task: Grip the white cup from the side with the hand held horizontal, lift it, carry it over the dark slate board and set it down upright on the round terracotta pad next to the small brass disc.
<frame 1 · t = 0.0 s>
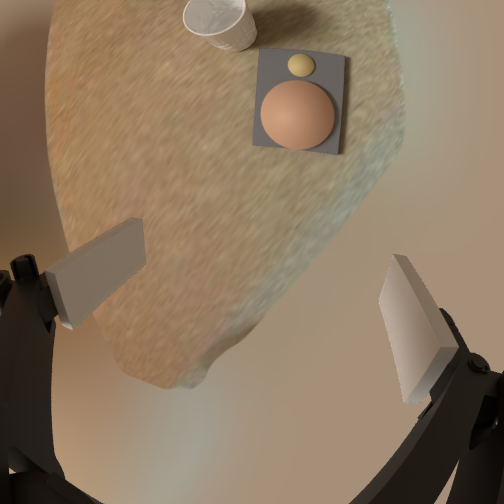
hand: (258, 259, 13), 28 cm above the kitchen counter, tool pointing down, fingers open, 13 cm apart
white cup: (235, 34, 31), on the kitchen counter
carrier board: (299, 98, 34), on the kitchen counter
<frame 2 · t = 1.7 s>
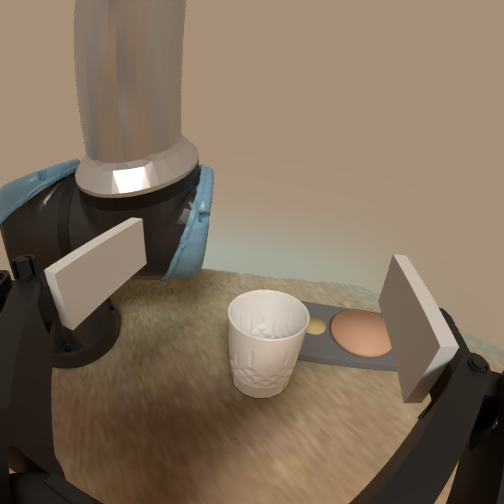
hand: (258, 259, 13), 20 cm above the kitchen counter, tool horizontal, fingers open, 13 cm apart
white cup: (259, 377, 30), on the kitchen counter
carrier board: (344, 336, 37), on the kitchen counter
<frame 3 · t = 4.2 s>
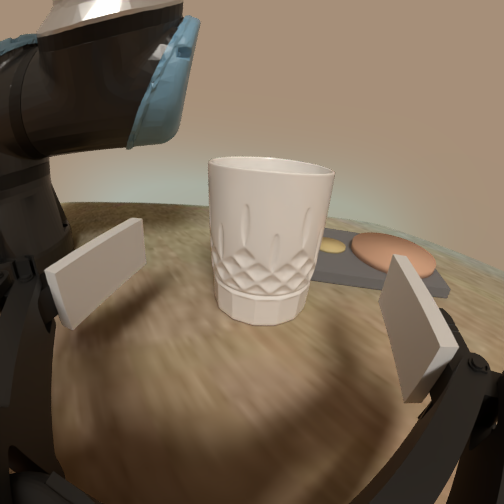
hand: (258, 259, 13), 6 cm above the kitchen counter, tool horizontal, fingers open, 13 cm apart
white cup: (259, 300, 21), on the kitchen counter
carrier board: (370, 261, 28), on the kitchen counter
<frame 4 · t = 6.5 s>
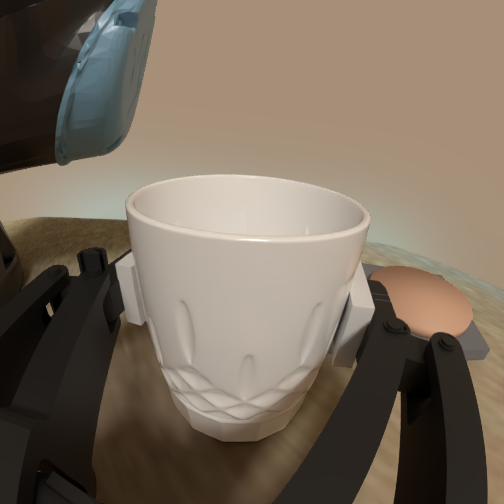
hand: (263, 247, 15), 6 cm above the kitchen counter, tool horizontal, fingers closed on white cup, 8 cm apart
white cup: (237, 391, 13), on the kitchen counter, touching gripper
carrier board: (391, 308, 20), on the kitchen counter
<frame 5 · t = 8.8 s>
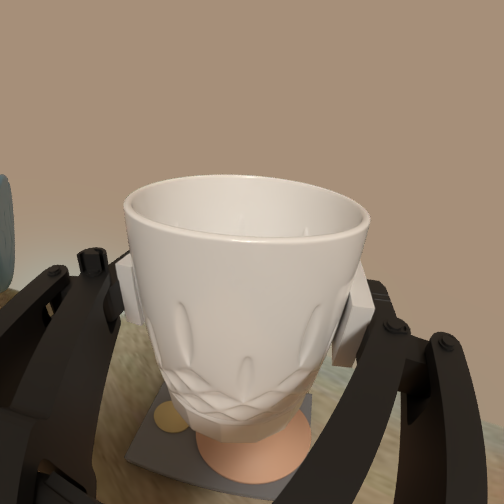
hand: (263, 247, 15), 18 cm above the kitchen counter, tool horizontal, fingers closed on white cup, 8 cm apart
white cup: (236, 392, 13), point 12 cm above the kitchen counter, touching gripper
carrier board: (225, 435, 21), on the kitchen counter
when the fingers open (9 cm above the kitchen counter, at t = 11.1 s): white cup drops 1 cm, resting on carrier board.
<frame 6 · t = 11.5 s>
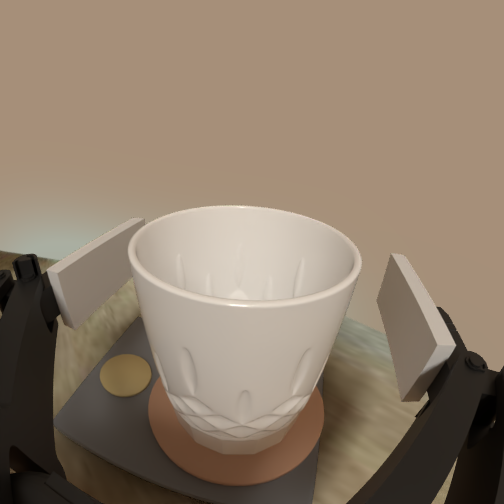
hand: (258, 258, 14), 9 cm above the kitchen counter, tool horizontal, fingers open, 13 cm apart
white cup: (236, 407, 14), point 2 cm above the kitchen counter, touching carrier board
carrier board: (196, 408, 15), on the kitchen counter
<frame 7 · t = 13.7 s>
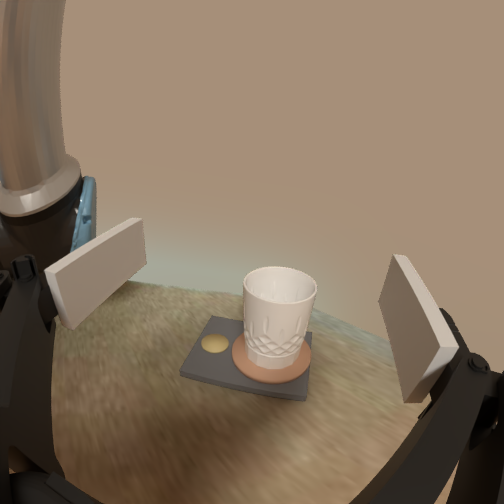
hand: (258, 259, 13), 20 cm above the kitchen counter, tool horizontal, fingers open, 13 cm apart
white cup: (271, 352, 33), point 2 cm above the kitchen counter, touching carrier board
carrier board: (251, 357, 34), on the kitchen counter
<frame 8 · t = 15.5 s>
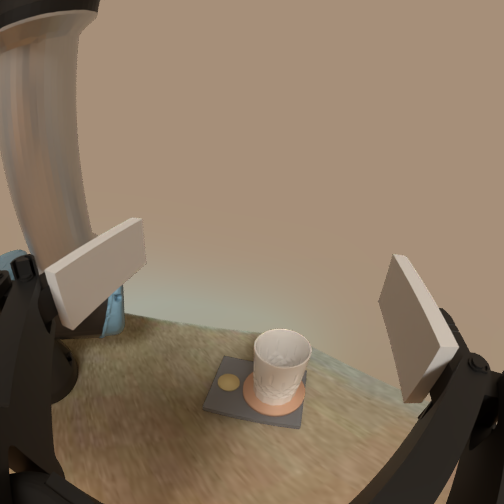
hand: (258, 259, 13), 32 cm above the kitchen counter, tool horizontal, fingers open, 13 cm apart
white cup: (274, 390, 40), point 2 cm above the kitchen counter, touching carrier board
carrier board: (258, 392, 41), on the kitchen counter
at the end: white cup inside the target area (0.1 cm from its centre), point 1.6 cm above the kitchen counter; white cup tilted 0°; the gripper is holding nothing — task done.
